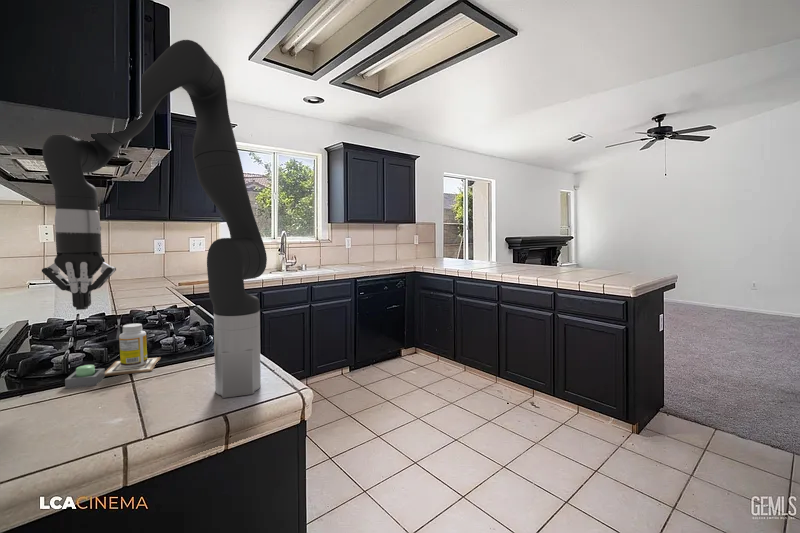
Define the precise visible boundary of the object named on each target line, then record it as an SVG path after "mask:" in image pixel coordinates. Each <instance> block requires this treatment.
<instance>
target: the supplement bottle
mask: <svg viewBox="0 0 800 533" xmlns="http://www.w3.org/2000/svg"><path fill="white" fill-rule="evenodd" d="M118 340H119V342H118V343H119V357H120V359H119V361H120V362H121V366H122V367H125V368H132V367H138V366H141V365H144V364H145V363H146V362H147V358H148V350H147V349H148V348H147V347H148V346H147V344H148V343H147V332H146V331H145V330H143V324H142V323H126V324H124V325H122V333H120V334H119V336H118Z"/></svg>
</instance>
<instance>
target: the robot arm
mask: <svg viewBox="0 0 800 533" xmlns="http://www.w3.org/2000/svg"><path fill="white" fill-rule="evenodd" d="M141 75H142V80H141V93H142V113H143V114H142V117H141V118H140V119H138V120H133V121H131V122H130V123H129V124H128V126H127V127H126V129H125V130H124V131H119V132H115V133H108V134H107V133H97V134H91V137H92V138H93V139H95V141H90V142H88V141H84V140H81V139H82V138H79V139H78V137H76V138H75V136H73V137H72V135H70V136H66V135H53V134H52V136H51V135H50V136H48V137H47V138H46V140H45V141H44V143H43V146H42V158H43V162H44V165H45V168H46V171H47V173H48V176H49V179H50V182H51V184H52V187H53V189H54V206H55V214H54V231H55V232H54V234H55V251H56V256H55V258H54V260H53V263H51V264H50V265H49V266H48V267H43V268H42V269H41V273H42V274H44V275H45V277H47V278H48V279H49V280H50V281H51V282H53V284H54V285H56V287H58V288H59V289H60V290H61V291H65V292H66V291H67V292H70V293H71V298H72V307H73V308H75V309H76V310H77V311H79V310H81V311H83V310H87V309H88V308H89V306H91V305H92V294H91V293H92V291H95V290H97V289H100V288H102V286H103V285H105V283H106V282H107V281H108V280H109V278H110V277H111V276H112V275H113V274H114V273H115V272H116V271H117V267H115V266H111V265H110V264H108V263H107V262H105V261H106V260H105V258H104V257H103V255H102V250H103V249H102V226H101V220H100V215H99V214H100V213H99V197H98V196H99V195H98V190H97V188H96V187H95V185H93V184H91V183H89V182H88V181H87V180H86V178H85V175H84V174H91V173H94V172H97V171H99V170H100V169H102V168H103V167H105V166H106V165H107V164H108V163H109V161H110V160H111V159H112V158H113V156H114V155H115V154H116V152H118V149H119V148H120V147H121V146H123V145H125V144H126V143H128V142H129V141H131V139H133V138H134V137H136V136H137V135H139V134H140V133H142V131H143V130H145V128H146V127H147V126H148V125H149V123H150V122H151V119H152V117H153V115H154V114H155V111H156V109H157V107H158V106H159V104H160V103H161V101H163V99H164V98H165V97H166V96H167V95H169V94H170V93H172V92H174V91H175V90H177V89H179V88H182V89H183V90H185V91H186V93H187V95H188V96H189V99H190V101H191V104H192V107H193V111H194V115H195V120H196V130H195V133H194V137H193V142H192V157H193V158H192V159H193V163H194V166H195V170H196V176H197V179H198V182H199V184H200V186H201V188H202V190H203V191H204V192H205V194H206V195H207V197H208V198H209V200H210V201H211V202H212V203H213V204H214V206H215V207H216V208H217V209H218V210H219V212H220V214H221V215H222V217H223V219H224V220H225V222H226V225H227V228H228V230H229V235H230V237H221V238H217V239H216V240H214V241H213V242H211V244H210V246H209V248H208V251H207V255H206V256H207V257H206V272H207V282H208V285H207V286H208V296H209V299H210V301H211V304H212V307H213V308H212V309H213V343H214V346H213V348H214V349H213V350H214V352H213V353H214V383H215V384H214V385H215V386H214V388H215V391H214V392H215V393H216V394H217V395H218V396H221V398H222V399H224V398H225V399H226V398H233V397H240V396H241V397H242V396H246V395H247V396H248V395H254V394H255V392H256V391H257V390H259V389H260V388H261V386H262V385H261V380H262V379H261V376H262V375H261V372H262V370H261V368H262V367H261V310H260V309H261V307H260V306H261V304H260V299H259V298H258V297H257V296H255V295H251V294H249V293H248V292H246V290H245V283H244V282H245V281H246V280H253V279H257V278H259V277H261V276H262V275H263V273H265V270H266V267H267V264H268V262H267V261H268V260H267V259H268V256H267V251H266V246H265V244H264V241H263V237H262V236H261V232H260V229H259V227H258V224H257V220H256V217H255V215H254V211H253V208H252V204H251V200H250V195H249V192H248V188H247V185H246V179H245V175H244V170H243V166H242V161H241V156H240V152H239V150H238V147H237V141H236V138H235V133H234V130H233V126H232V122H231V119H230V112H229V108H228V99H227V89H226V81H225V77H224V74H223V71H222V69H221V67H220V65H219V64H218V63H217V62H216V61H215V60H214V59H213V58H212V56H211V55H210V54H209V52H208V51H207V50H206V49H205V48H204V47H203V46H202V44H201V45H200V44H199V42H196V41H194V40H190V39H181V40H178V41H176V42H173V43H172V44H171V45H169V47H167V48H166V49H165V50H164V51H163V52H162V53H161V54H160V55H159V56H158V57H157V59H156V60H154V62H153V63H152V64H151V65H150V66H149V67H148V68H147V69H146V70H145V71H144V72H143V73H142V74H141ZM99 270H100V273H101V274H100V275H99V276H98V278H96V280H95V281H94V275H96V274H97V272H98V271H99ZM60 272H63V274H64V275H66V276H67V279H66V278H65V277H64V276H63V275H62V274H61V273H60ZM93 281H94V282H93Z"/></svg>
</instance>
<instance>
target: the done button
mask: <svg viewBox="0 0 800 533" xmlns="http://www.w3.org/2000/svg"><path fill="white" fill-rule="evenodd" d="M95 369H96V367H95V365H94V364H85V365H80V366H78V367H76V368H75V371H76V377H86V376H93V375H95Z"/></svg>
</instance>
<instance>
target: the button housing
mask: <svg viewBox="0 0 800 533" xmlns="http://www.w3.org/2000/svg"><path fill="white" fill-rule="evenodd" d="M105 371H106V369H105V368H95V375H93V376H86V377H76V370H75V371H74V372H73V373H71V374H70V375H68V377H66V378H65V379H64V386H65V389H74V388H82V387H92V386H97V385H98V384H99V383H100V382H101V381H102V380H103V379H104V378H105V377H106V376H105Z"/></svg>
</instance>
